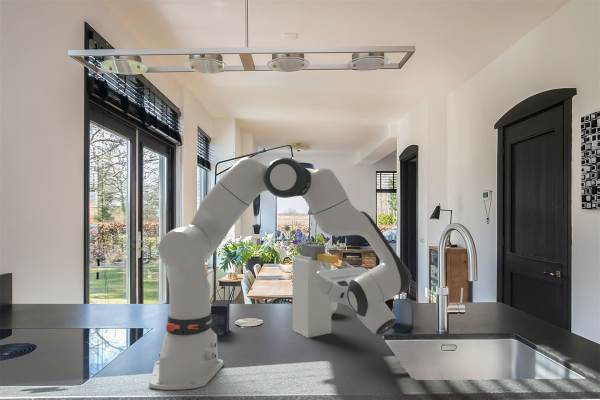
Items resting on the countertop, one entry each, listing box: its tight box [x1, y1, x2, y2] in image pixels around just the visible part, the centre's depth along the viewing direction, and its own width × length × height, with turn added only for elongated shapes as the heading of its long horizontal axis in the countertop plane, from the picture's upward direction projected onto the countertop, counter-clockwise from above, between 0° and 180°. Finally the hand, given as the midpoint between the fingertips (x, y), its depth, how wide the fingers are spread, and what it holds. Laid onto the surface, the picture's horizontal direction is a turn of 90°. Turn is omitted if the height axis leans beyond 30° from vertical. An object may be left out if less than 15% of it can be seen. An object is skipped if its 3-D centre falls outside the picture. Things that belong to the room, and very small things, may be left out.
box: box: [210, 300, 231, 337], centre depth 143 cm, size 8×6×11 cm
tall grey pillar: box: [291, 254, 332, 339], centre depth 145 cm, size 10×10×27 cm
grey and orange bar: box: [301, 243, 339, 265], centre depth 141 cm, size 17×4×5 cm, turn 33°
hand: (331, 264), depth 135 cm, fingers open, 8 cm apart
